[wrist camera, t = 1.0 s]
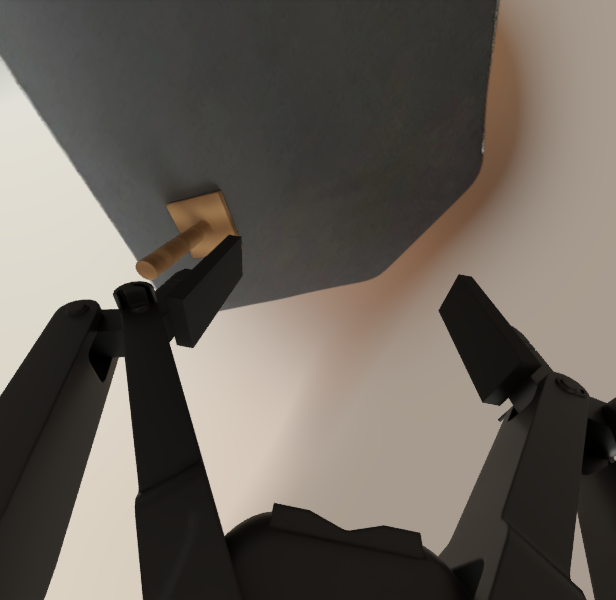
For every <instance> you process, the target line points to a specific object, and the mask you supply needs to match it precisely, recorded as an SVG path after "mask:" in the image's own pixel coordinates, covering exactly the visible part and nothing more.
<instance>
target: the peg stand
mask: <svg viewBox="0 0 616 600" xmlns="http://www.w3.org/2000/svg"><path fill="white" fill-rule="evenodd" d="M166 207H167V209H168V211H169V212H170V214H171V216H172V218H173V220H174V222H175V224H176V226H177V228H178V230H179V231H180V233H181V234H179V235H178V236H176V237H175V238H173V239H172V240H170V241H169V242H167V243H166V244H164V245H163V246H161V247H160V248H158V249H157V250H155V251H153V252H152V253H150V254H149V255H147V256H146V257H144V258H143V259H141V260H140V261H138V262H137V264H136V270H137V272H138V273H139V274H140V275H141V276H142V277H143V278H145V279H148V280H153V279H155V278H157V277H158V276H159V275H160V274H162V273H163V272H164V271H165V270H167V269H168V268H169V267H170V266H171V265H173V264H174V263H175V262H176V261H178V260H179V259H180V258H181V257H183V256H184V255H185V254H186V253H188V252H189V251H190V252H191V254H192V256H193V258H199V257H204V256H207V255H208V254H209V253H210V252H211V251H212V250H213V249H214V248H215V247H216V246H217V245H218V244H219V243H221V242H222V241H223V240H224V239H225V238H226V237H227V236H228V235H235V236H239V235H238V232H237V230H236V227H235V225H234V222H233V220H232V217H231V215H230V212H229V210H228V207H227V205H226V202H225V200H224V197H223V194H222V192H221V191H216V192H212V193H208V194H204V195H200V196H196V197H192V198H188V199H184V200H180V201H176V202H172V203H169V204H167V205H166ZM241 244H242V242H241ZM242 248H243V245H242Z"/></svg>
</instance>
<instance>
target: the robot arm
mask: <svg viewBox="0 0 616 600" xmlns="http://www.w3.org/2000/svg"><path fill="white" fill-rule="evenodd" d="M242 276H243V275H242V244H241V236H235V235H228V236H227V237H226V238H225V239H224V240H223V241H222V242H221V243H219V244H218V245H217V246H216V247H215V248H214V249H213V250H212V251H211V252H210V253H209V254H208V255H207V256H206V257H205V258H204V259H203V260H202V261H201V262H200V263H199V264H198V265H197V266H195V267H194V268H193V269H192V270H191V269H183V270H181V271H179V272H177V273H175V274H174V275H173V276H172V277H171V278H170V280H169V279H168V280H167V281H166V282H165V284H163V285H162V286H161V287H159V288H158V289H157V290H156V291H154V287H153V286H152V285H151V284H150V283H147V282H141V281H139V282H130V283H126V284H124V285H121V286H119V287H118V288H117V289H116V290H114V293H113V296H114V299H115V301H116V303H117V306H118V308H119V309H109V310H101V308H100V306H99V304H98V303H97V302H96V301H93V300H78V301H73V302H70V303H68V304H66V305H64V306H62V307H60V308H59V309H58V310H57V311H56V312H55V314H54V315H53V317H52V318H51V320H50V321H49V323H48V324H47V326H46V328H45V329H44V330H43V332H42V334H41V335H40V337H39V338H38V340H37V341H36V343H35V344H34V346H33V347H32V349H31V350H30V352H29V353H28V355H27V356H26V358H25V359H24V361H23V363H22V364H21V365H20V367H19V369H18V370H17V372H16V373H15V375H14V376H13V378H12V379H11V381H10V382H9V384H8V385H7V387H6V388H5V390H4V391H3V393H2V394H1V396H0V600H44V598H45V596H46V593H47V590H48V587H49V584H50V581H51V578H52V576H53V573H54V570H55V567H56V564H57V561H58V557H59V554H60V550H61V547H62V544H63V541H64V537H65V534H66V531H67V527H68V524H69V521H70V518H71V514H72V511H73V508H74V504H75V501H76V498H77V494H78V491H79V488H80V484H81V481H82V478H83V474H84V471H85V468H86V464H87V461H88V458H89V454H90V451H91V448H92V444H93V441H94V438H95V434H96V431H97V428H98V424H99V421H100V418H101V414H102V411H103V408H104V404H105V401H106V397H107V394H108V391H109V388H110V384H111V381H112V378H113V374H114V371H115V368H116V364H117V361H118V358H119V357H125V363H126V373H127V382H128V391H129V401H130V409H131V419H132V428H133V438H134V447H135V456H136V464H137V474H138V485H139V492H138V495H137V497H136V499H135V518H136V529H137V539H138V550H139V562H140V572H141V583H142V594H143V600H586V598H585V596H584V593H583V591H582V590H581V589H580V588H579V587H578V586H576V585H575V584H574V583H573V582H572V581H571V579H570V567H571V559H572V550H573V541H574V531H575V523H576V515H577V513H578V518H579V523H580V528H581V533H582V538H583V543H584V548H585V553H586V558H587V563H588V568H589V573H590V577H591V583H592V587H593V593H594V598H595V600H616V461H615V460H614V456H616V398H614V399H613V400H611V401H610V402H608V403H605V402H602V401H600V400H597V399H595V398H592V397H590V396H589V394H588V393H587V391H586V390H585V389H584V388H583V387H582V386H581V385H580V384H579V383H578V382H576V381H574V380H573V379H571V378H570V377H567V376H565V375H563V374H560V373H556V372H554V371H553V370H552V369H551V368H550V367H549V365H548V364H547V363H546V362H545V361H544V359H543V358H542V357H541V356H540V354H539V353H538V352H537V351H535V348H534V347H533V346H532V345H531V344H529V341H528V340H527V339H526V337H525V336H524V335H523V334H522V333H521V332H519V331H518V330H517V329H515V328H514V327H513V326H511V325H510V324H509V323H508V322H507V320H506V319H505V318H504V317H503V315H502V314H501V313H500V312H499V310H498V309H497V308H496V307H495V305H494V304H493V303H492V301H491V300H490V299H489V298H488V297H487V295H486V294H485V293H484V291H483V290H482V289H481V288H480V286H479V285H478V284H477V283H476V281H475V280H474V279H473V278H472V277H471V276H465V275H458V277H457V279H456V280H455V282H454V284H453V286H452V288H451V289H450V291H449V293H448V295H447V296H446V298H445V300H444V302H443V304H442V306H441V307H440V309H439V313H440V315H441V317H442V319H443V321H444V323H445V325H446V327H447V329H448V331H449V334H450V336H451V338H452V340H453V342H454V344H455V346H456V348H457V350H458V352H459V354H460V357H461V359H462V361H463V363H464V365H465V367H466V369H467V371H468V373H469V375H470V378H471V379H472V382H473V384H474V386H475V388H476V390H477V392H478V394H479V396H480V398H481V400H482V402H483V403H488V404H493V405H498V406H500V405H501V404H502V403H503V402H504V401H506V399H508V398H509V399H510V401H511V402H512V404H513V406H512V407H511V408H510V409H509V410H508V411H507V412H506V413H505V414H503V415H502V416H501V417H500V418H499V419H498V420H499V421H500V422H501V421H502V420H503V423H502V425H501V427H500V429H499V432H498V434H497V436H496V439H495V441H494V443H493V446H492V448H491V450H490V452H489V455H488V457H487V459H486V461H485V464H484V466H483V468H482V470H481V473H480V475H479V477H478V479H477V482H476V484H475V486H474V489H473V491H472V493H471V496H470V498H469V500H468V502H467V504H466V507H465V509H464V511H463V514H462V516H461V518H460V520H459V523H458V525H457V527H456V530H455V532H454V534H453V536H452V538H451V540H450V542H449V544H448V545H447V547H446V548H445V549H444V550H443V551H442V553H441V554H440V555H439V556H436V555H435V554H434V553H433V552H431V551H430V550H429V549H427V548H426V547H424V546H423V545H422V541H421V535H420V533H418V532H413V531H408V530H404V529H399V528H394V527H389V526H377V527H370V528H364V529H357V530H351V531H347V530H344V529H342V528H340V527H338V526H336V525H335V524H333V523H331V522H329V521H327V520H326V519H324V518H322V517H320V516H319V515H317V514H315V513H313V512H312V511H310V510H306V509H301V508H296V507H291V506H286V505H281V504H277V503H274V505H273V510H272V512H266V513H262V514H258V515H255V516H253V517H251V518H249V519H247V520H245V521H244V522H242V523H240V524H239V525H237V526H236V527H235V528H233V529H232V530H231V531H230V532H229V533H227V534H226V535H225V536H224V533H223V530H222V526H221V523H220V519H219V516H218V512H217V509H216V505H215V502H214V498H213V495H212V491H211V488H210V484H209V480H208V477H207V474H206V470H205V466H204V463H203V459H202V456H201V453H200V449H199V446H198V442H197V439H196V435H195V432H194V428H193V424H192V421H191V417H190V414H189V410H188V407H187V403H186V400H185V396H184V392H183V389H182V386H181V382H180V379H179V375H178V372H177V368H176V364H175V361H174V358H173V354H172V350H171V347H170V343H169V342H170V341H171V340H172V339H173V337H174V336H175V339H176V343H177V345H179V346H185V347H191V348H194V346H195V345H196V343H197V342H198V340H199V339H200V338H201V336H202V335H203V333H204V332H205V330H206V329H207V327H208V326H209V324H210V323H211V321H212V320H213V318H214V317H215V315H216V314H217V312H218V311H219V310H220V308H221V307H222V305H223V304H224V302H225V301H226V299H227V298H228V296H229V295H230V293H231V292H232V290H233V289H234V287H235V286H236V284H237V283H238V282H239V280H240V279H241V277H242Z"/></svg>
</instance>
